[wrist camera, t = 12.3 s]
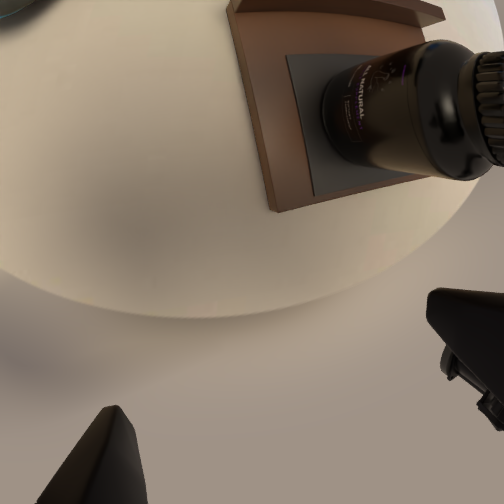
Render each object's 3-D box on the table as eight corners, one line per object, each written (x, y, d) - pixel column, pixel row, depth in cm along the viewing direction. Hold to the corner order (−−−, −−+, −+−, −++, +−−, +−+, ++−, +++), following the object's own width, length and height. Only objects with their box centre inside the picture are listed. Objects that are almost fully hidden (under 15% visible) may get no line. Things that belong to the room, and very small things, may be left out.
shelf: (437, 171, 23) (476, 176, 19) (269, 209, 20) (298, 222, 16) (406, 20, 18) (441, 7, 14) (225, 8, 15) (242, -26, 11)
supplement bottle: (300, 82, 16) (462, 17, 5) (380, 62, 17) (526, 27, 6) (340, 184, 19) (510, 222, 8) (411, 150, 20) (558, 166, 8)
